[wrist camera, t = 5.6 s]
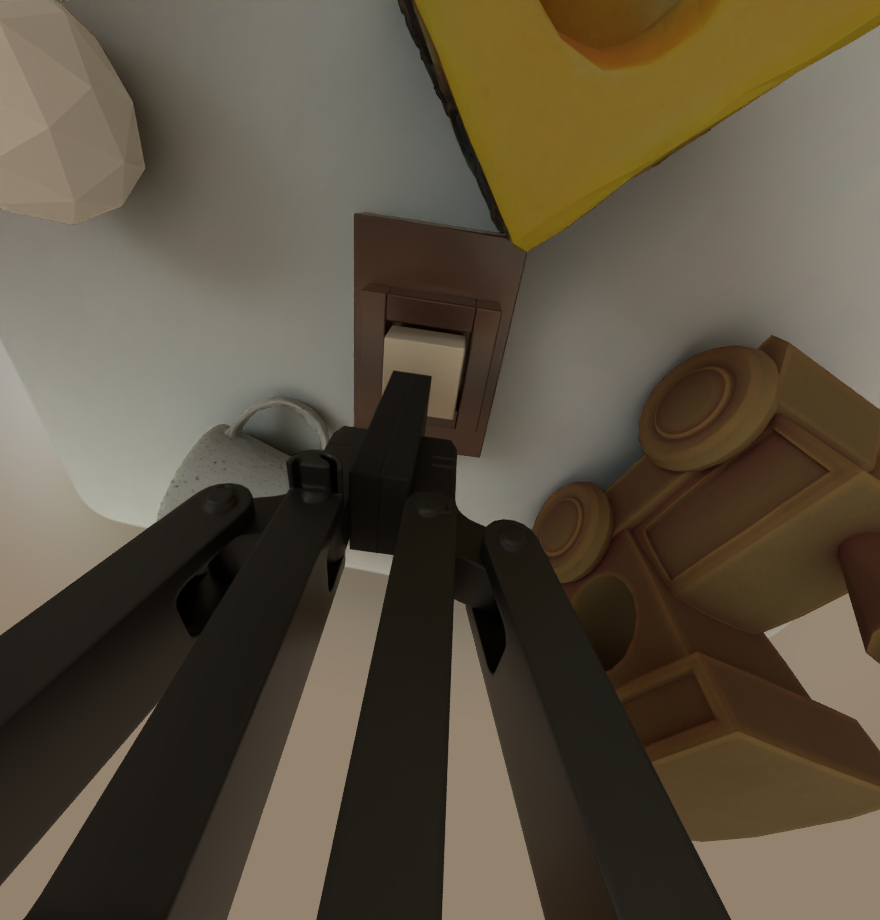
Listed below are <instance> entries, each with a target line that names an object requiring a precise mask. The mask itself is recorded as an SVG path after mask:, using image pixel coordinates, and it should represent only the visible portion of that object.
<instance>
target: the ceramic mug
mask: <svg viewBox="0 0 880 920" xmlns="http://www.w3.org/2000/svg"><path fill="white" fill-rule="evenodd" d="M277 405H283V406H287V407H289V408H290V409H292V410H294V411H295V412H297V413H299V414H300V415H302V416H303V417H304V418H305V419H306V421H307V423H308V425H311V426H313V427H314V428H315V429H316V432H317V433H318V434H319V435H320V441H321V449H322V450H324V449H325V447H326V445H327V444H328V442H329V433H328V429H327V427H326V425H325V423H324V421H323V420H322V418H321V417H320V416H319V414H318V413H317V412H316V411H315V410H313V409H312V408H311V407H309V406H308V405H306V404H304V403H302V402H300V401H298V400H295V399H292V398H286V397H273V398H269V399H265V400H263V401H260V402H258V403H255V404H254V405H252V406H250V407H249V408H247V409H246V410H245V411H244V412H243V413H242V414H240V416H239V417H238V418H237V419H236V420H235V422H234V423H233V424H232V426H231V427H230V426H228V425H225V424H221V425H218V426H216V427H214V428H212V429H211V430H210V431H208V432H207V433H206V434H204V435H203V436H202V438H201V439H200V440H199V441H198V442H197V443H196V444H195V445H194V446H193V448H192V449H191V451H190V452H189V453H188V455H187V456H186V458H185V459H184V461H183V462H182V464H181V466H180V467H179V468H178V470H177V472H176V474H175V475H174V477H173V479H172V481H171V483H170V486H169V487H168V489H167V491H166V493H165V495H164V498H163V500H162V502H161V505H160V509H159V512H158V516H157V521H159V520H160V519H161V518H163V517H164V516H165V515H167V514H168V513H170V512H171V511H172V510H174V509H175V508H176V507H178V506H179V505H181V504H182V503H183V502H185V501H186V500H187V499H189V498H190V497H192V496H193V495H194V494H196V493H197V492H199V491H201V490H203V489H205V488H206V487H210V486H213V485H216V484H223V483H234V484H240V485H243V486H245V487H246V488H248V489H249V490H250V492H251V494H252V496H253V498H258V497H270V496H278V495H283V494H286V493H287V492H288V490H289V481H288V474H287V466H286V461H287V460H288V459H289V458H290V457H291V456H289V455H287V454H285V453H283V452H280V451H278V450H277V449H275V448H273V447H271V446H269V445H267V444H265V443H264V442H261V441H259V440H257V439H255V438H253V437H251V436H249V435H247V434H245V433H243V432H241V430H242V427H243V426H244V424H245V423H246V422H247V421H248V419H249V418H250V417H251V416H252V415H253V414H254V413H255V412H257V411H258V410H262V409H265V408H267V407H270V408H271V407H273V406H277ZM157 521H156V522H157Z"/></svg>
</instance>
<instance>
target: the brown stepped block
mask: <svg viewBox="0 0 880 920" xmlns="http://www.w3.org/2000/svg"><path fill="white" fill-rule="evenodd" d="M526 256H527V252H526V251H521V250H517V249H516V247H515V245H514V244H512V243H511V242H510V241H508V240H507V234H501V233H495V232H488V231H482V230H476V229H469V228H463V227H457V226H450V225H444V224H437V223H431V222H425V221H418V220H412V219H405V218H399V217H393V216H386V215H380V214H374V213H367V212H364V213H355V214H354V427H356V428H363V429H368V427H369V425H370V422H371V420H372V418H373V416H374V413H375V411H376V409H377V406H378V404H379V402H380V400H381V397H382V379H383V356H384V338H385V336H386V335H387V333H388V331H389V330H390V328H391V327H392V326H393V325H396V326H402V327H409V328H415V329H422V330H429V331H435V332H442V333H448V334H455V335H462V336H465V338H466V342H465V355H464V361H463V366H462V372H461V378H460V384H459V390H458V396H457V402H456V408H455V413H454V418H453V420H449V419H443V418H436V417H429V416H427V420H426V428H425V436H427V437H434V438H441V439H448V440H452V442H453V444H454V445H455V447H456V448H457V455H464V456H471V457H478V458H480V455H481V450H482V446H483V442H484V437H485V433H486V429H487V424H488V420H489V416H490V411H491V407H492V403H493V398H494V394H495V390H496V386H497V381H498V377H499V373H500V368H501V364H502V360H503V355H504V351H505V347H506V342H507V338H508V334H509V329H510V325H511V321H512V316H513V312H514V308H515V303H516V299H517V295H518V290H519V286H520V282H521V277H522V273H523V269H524V264H525V260H526Z"/></svg>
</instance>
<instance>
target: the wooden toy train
mask: <svg viewBox="0 0 880 920" xmlns="http://www.w3.org/2000/svg"><path fill="white" fill-rule="evenodd" d="M639 441H640V443H641V446H642V448H643V451H644V453H645V455H644V456H643V457H641V458H640V459H639V460H638V461H637V462H636V463H635V464H634V465H633V466H632V467H631V468H630V469H629V470H628V471H627V472H625V473H624V474H623V475H622V476H621V477H620V478H619V479H618V480H617V481H616V482H615V483H614V484H613V485H612V486H611V487H609V488H608V489H607V490H606V491H605V492H604V491H603V490H602V489H601V488H600V486H598V485H595V484H593V483H591V482H577V483H571V484H569V485H567V486H564V487H562V488H560V489H559V490H557V491H556V492H555V493H554V494H553V495H552V496H550V498H549V499H548V500H547V501H546V503H545V504H544V505H543V507H542V508H541V510H540V512H539V514H538V516H537V518H536V521H535V524H534V526H533V530H532V531H533V533H534V534H535V535H536V536H537V538H538V540H539V542H540V543H541V545H542V547H543V549H544V551H545V553H546V555H547V557H548V559H549V561H550V563H551V565H552V567H553V569H554V571H555V573H556V575H557V577H558V579H559V581H560V583H561V585H562V587H563V589H564V591H565V593H566V595H567V597H568V599H569V601H570V603H571V605H572V607H573V609H574V611H575V613H576V615H577V617H578V618H579V620H580V622H581V624H582V626H583V628H584V630H585V632H586V634H587V636H588V638H589V640H590V642H591V644H592V646H593V648H594V650H595V652H596V654H597V656H598V658H599V660H600V662H601V664H602V666H603V668H604V670H605V672H606V674H607V676H608V678H609V680H610V682H611V684H612V686H613V688H614V690H615V692H616V693H617V695H618V697H619V699H620V701H621V703H622V705H623V707H624V709H625V711H626V713H627V715H628V717H629V719H630V721H631V723H632V725H633V727H634V729H635V731H636V733H637V735H638V737H639V739H640V741H641V743H642V745H643V747H644V749H645V751H646V753H647V755H648V757H649V759H650V761H651V763H652V765H653V767H654V768H655V770H656V772H657V774H658V776H659V778H660V780H661V782H662V784H663V786H664V788H665V790H666V792H667V794H668V796H669V798H670V800H671V802H672V804H673V806H674V808H675V810H676V812H677V814H678V816H679V818H680V820H681V822H682V824H683V826H684V828H685V830H686V832H687V834H688V836H689V838H690V840H691V841H700V842H704V841H716V840H728V839H739V838H751V837H759V836H764V835H768V834H774V833H779V832H784V831H789V830H795V829H800V828H805V827H810V826H815V825H820V824H825V823H830V822H835V821H841V820H846V819H851V818H854V817H857V816H860V815H863V814H866V813H869V812H873V811H876V810H879V809H880V751H879V749H878V748H877V747H876V745H875V744H874V743H873V741H872V740H871V739H870V737H869V736H868V735H867V733H866V732H865V731H864V729H863V728H862V727H861V725H860V724H859V723H858V721H857V720H855V719H853V718H851V717H849V716H847V715H845V714H842V713H840V712H838V711H836V710H834V709H832V708H829V707H827V706H825V705H823V704H821V703H818V702H816V701H814V700H812V699H811V698H810V697H809V695H808V694H807V692H806V691H805V689H804V688H803V687H802V685H801V684H800V682H799V681H798V679H797V678H796V676H795V675H794V674H793V672H792V671H791V669H790V668H789V667H788V665H787V664H786V662H785V661H784V660H783V658H782V657H781V656H780V654H779V653H778V651H777V650H776V649H775V647H774V646H773V645H772V644H771V642H770V641H769V639H768V638H767V637H766V635H765V634H764V633H763V632H765V631H768V630H770V629H773V628H775V627H777V626H780V625H782V624H785V623H787V622H789V621H792V620H794V619H796V618H799V617H801V616H804V615H806V614H808V613H810V612H811V611H814V610H816V609H818V608H820V607H821V606H823V605H825V604H827V603H829V602H831V601H833V600H835V599H837V598H839V597H841V596H843V595H845V594H847V593H849V596H850V600H851V603H852V607H853V610H854V613H855V617H856V620H857V623H858V627H859V630H860V634H861V637H862V641H863V644H864V647H865V651H866V653H867V654H868V655H869V656H871V657H872V658H873V659H874V660H876V661H877V662H878V663H880V410H879V409H878V408H877V407H875V406H874V405H873V404H871V403H870V402H869V401H867V400H866V399H865V398H863V397H862V396H860V395H859V394H858V393H856V392H855V391H854V390H852V389H851V388H850V387H848V386H847V385H846V384H844V383H843V382H842V381H840V380H839V379H837V378H836V377H835V376H833V375H832V374H831V373H829V372H828V371H827V370H825V369H824V368H823V367H821V366H820V365H818V364H817V363H816V362H814V361H813V360H812V359H810V358H809V357H808V356H806V355H805V354H804V353H802V352H801V351H800V350H798V349H797V348H795V347H794V346H793V345H791V344H790V343H789V342H787V341H784V340H782V339H780V338H777V337H775V336H773V335H772V336H770V337H769V338H768V339H767V340H766V341H765V342H764V343H763V344H762V345H761V346H760V347H759V348H758V349H753V348H749V347H744V346H728V347H720V348H714V349H712V350H709V351H707V352H704V353H702V354H699V355H696V356H694V357H692V358H690V359H689V360H687V361H685V362H684V363H682V364H681V365H679V366H678V367H676V368H675V369H674V370H673V371H672V372H671V373H669V374H668V375H667V376H666V377H665V378H664V379H663V380H662V381H661V382H660V383H659V385H658V386H657V387H656V388H655V390H654V391H653V392H652V393H651V395H650V397H649V399H648V400H647V402H646V404H645V406H644V408H643V411H642V414H641V418H640V421H639Z"/></svg>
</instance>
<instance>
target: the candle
mask: <svg viewBox="0 0 880 920" xmlns="http://www.w3.org/2000/svg"><path fill="white" fill-rule="evenodd" d="M398 4H399V7H400V10H401V13H402V14H403V15H404V16H405V21H406V25H407V27H408V30H409V32H410V34H411V36H412V38H413V40H414V42H415V44H416V46H417V47H418V48H419V50H420V55H421V60H422V61H423V62H424V64H425V67H426V69H427V71H428V73H429V75H430V77H431V80H432V83H433V84H434V89H435V90H436V94H437V96H438V97H439V98H440V100H441V101H442V103H443V107H444V110H445V112H446V115H447V116H448V117H449V118H450V120H451V123H452V127H453V130H454V133H455V135H456V138H457V141H458V143H459V146H460V148H461V151H462V153H463V155H464V157H465V159H466V162H467V164H468V167H469V168H470V170H471V171H472V173H473V175H474V176H475V178H476V180H477V182H478V185H479V188H480V190H481V193H482V195H483V197H484V199H485V201H486V203H487V205H488V208H489V210H490V214H491V219H492V221H493V222H494V224H495V225H496V227H497V228H498V230H499V231H500V232H501V233H506V234H507V240H508V241H510V242H511V243H512V244H514V245H515V247H516V249H517V250H521V251H526V252H527V251H529V250H531V249H532V248H534V247H536V246H538V245H539V244H541V243H543V242H544V241H546V240H548V239H549V238H551V237H553V236H554V235H556V234H558V233H559V232H561V231H562V230H564V229H565V228H566V227H568V226H569V225H571V224H572V223H573V222H575V221H576V220H577V219H579V218H580V217H582V216H583V215H584V214H586V213H587V212H588V211H590V210H591V209H593V208H594V207H595V206H597V205H598V204H599V203H601V202H602V201H603V200H604V199H606V198H607V197H608V196H609V195H611V194H612V193H613V192H614V191H615V190H617V189H618V188H619V187H620V186H622V185H623V184H624V183H625V182H626V181H628V180H629V179H631V178H633V177H635V176H637V175H639V174H641V173H642V172H644V171H646V170H648V169H650V168H652V167H654V166H656V165H658V164H659V163H661V162H662V161H663V160H665V159H666V158H667V157H669V156H670V155H671V154H673V153H674V152H675V151H677V150H679V149H680V148H682V147H683V146H685V145H686V144H688V143H689V142H691V141H693V140H695V139H696V138H698V137H699V136H701V135H703V134H704V133H706V132H708V131H709V130H711V128H712V127H714V126H716V125H717V124H719V123H720V122H722V121H723V120H725V119H726V118H728V117H729V116H731V115H732V114H734V113H736V112H737V111H739V110H740V109H742V108H743V107H745V106H746V105H748V104H749V103H751V102H752V101H754V100H755V99H757V98H759V97H760V96H762V95H763V94H765V93H766V92H768V91H769V90H771V89H772V88H774V87H775V86H777V85H778V84H780V83H781V82H783V81H785V80H786V79H788V78H789V77H791V76H792V75H794V74H795V73H797V72H799V71H801V70H802V69H804V68H806V67H808V66H809V65H811V64H813V63H815V62H817V61H818V60H820V59H822V58H824V57H826V56H827V55H829V54H831V53H833V52H834V51H836V50H838V49H840V48H842V47H843V46H845V45H847V44H849V43H850V42H852V41H854V40H856V39H857V38H859V37H861V36H862V35H864V34H866V33H867V32H869V31H871V30H872V29H874V28H876V27H877V26H879V25H880V0H398Z"/></svg>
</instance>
